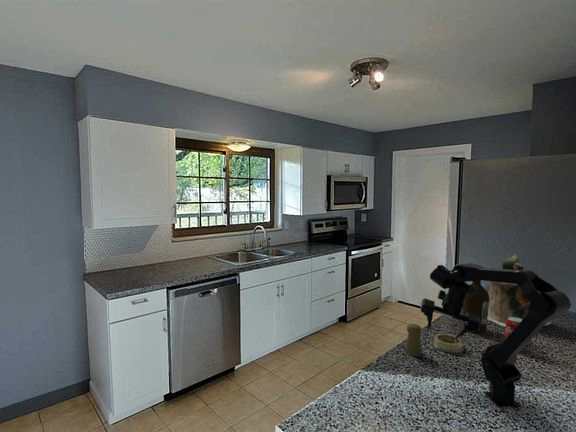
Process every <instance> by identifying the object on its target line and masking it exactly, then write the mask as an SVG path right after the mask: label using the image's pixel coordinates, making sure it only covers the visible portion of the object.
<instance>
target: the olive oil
mask: <svg viewBox="0 0 576 432" xmlns="http://www.w3.org/2000/svg"><path fill="white" fill-rule="evenodd" d="M481 282H482V280H478V281H471V284H473V287H474V288H475V290H476V292H475V293H469V294H467V297H466V299H465V302H464V305H463V308H462V315H466V313H467V312H468V313H471V314H474V315H477V316H478V317H479V319H480V324H481V325H480V329H479V331H476V330H474V331H469V332H468V333H471V334H475V335H476V334H477V335H483V334H486V333H487V327H488V326H487V325H488V320H487V319H488V309H489V301H490V298H489V294H488V293H489V291H487V290H486V288H484V287H483V286H482V283H481Z"/></svg>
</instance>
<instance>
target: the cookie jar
mask: <svg viewBox="0 0 576 432" xmlns="http://www.w3.org/2000/svg"><path fill="white" fill-rule="evenodd" d="M518 261H519V257H518V256H517V255H516V254H513V255H512V256H511V257H508V258H507V257H506V258H504V259H503V261H502V265H501V266H502V267H501V269H510V270H524V266H523V265H522V264H520V263H519V262H518ZM488 294H489V298H490V301H489V309H488V319H487V322H490V321H491V322H490V323H492V322H493V323H492V324H494V325H495V324H496V325H498V326H500V327H503V328H505V327H506V320H507V319H508V317H516V318H520V319H522V320H523V319H524V317H525V316H526V315H527V313H528V306H529V304H530V302H529V301H528V300H527V299H526V298H525V296H524V294H523V292H522V291H521V289H520V287H519V286H518V285H517V284H511V283H502V282H492V281H490V284H489V290H488ZM551 323H552V320H551V321H549V322H548V323H546V324H545V325H544V326H543V327H545V326H550V324H551Z"/></svg>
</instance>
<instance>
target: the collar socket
mask: <svg viewBox="0 0 576 432" xmlns="http://www.w3.org/2000/svg"><path fill="white" fill-rule="evenodd" d="M455 336H456V335H453V334H449V333H437V334H435V335H434V340H433V341H432V345H433V347H434V348H436V350H438V351H440V352H443V353H446V354H456V355H457V354H462V353H463V352H464V346H463V339H462V338H461V337H459V338H457V339H456V338H455Z"/></svg>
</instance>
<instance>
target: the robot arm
mask: <svg viewBox="0 0 576 432" xmlns="http://www.w3.org/2000/svg"><path fill="white" fill-rule="evenodd" d="M453 266H454V267H453V268H452V269H451V270H450V269H448V268H447V267H446V266H445V265H443V264H439V265H437V266H436V268H434V269H433V270H432V271H431V272H430V275H429V280H431V281H433V283H435V285H438V286H439V287H440V288H442V289H444V290H445V291H444V290H441V289H439V292H438V295H437V298H438V299H439V300H442V301H441V306H442V307H440V306H438V305H435V301H434V300H432V299H428V298H422V300H421V303H420V312H421V313H422V314H423V315H424V316H426V319H427V329H428V330H430V329H431V327H432V326H431V325H432V321H433V317H434V312H435V313H439V314H441V315H444V316H447V317H450V318H453V319H457V320H460V321H461V324H460V326H459V327H458V329H457V332H456V334H455V335H454V336H455V338H456V339H457V338H461V337H462V336H464V335H465V334H466V333H470V332H469V331H474V330H476V331H479V329H480V325H481V324H480V319H479V317H478V316H477V315H474V314H471V313H468V312H467V313H466V315H463V313H461V312H462V311H463V305H464V302H465V299H466V297H467V294H469V293H475V292H476V290H475V288H474V287H473V284H472V283H471V284H469V283H468V282H472V281H478V280H481V281H485V282H491V281H492V282H502V283H511V284H517V285H518V286H519V287H520V289H521V291H522V292H523V294H524V296H525V298H526V299H527V300H528V301H529V302H530V304H529V306H528V313H527V315H526V316H525V317H524V319H523V320H522V321H521V322H520V323H519V324H518V325H517V327H516V328H515V329H514V330H513V331H512V332H511V333H510V335H509V336H508V337H507V338H506V339H505V338H504V340H503V341H502V342H499V343H496V344H492V345H488V346H487V347H486V349H485V350H484V352H482V353H481V354H480V355H481V357H480V362H481V365H482V369H483V373H484V376H485V380H487V381H488V382H489V391H485V392H484V395H486V397H487V398H489V400H491V401H492V402H493V403H494V404H495V405H496V406H497V407H499V408H501V407H506V408H507V407H520V403H519V402H518V401H516V399H515V397H516V384H515V383H516V382H519V381H521V379H522V377H523V376H522V374H521V372H520V370H519V369H518V368H517V366H516V363H517V357H518V356H517V355H518V354H519V353H520V352H521V351H523V350H524V349H523V348H525V346H526V345H527V344H529V343H530V341H531V340H532V339H533V338H534V337H535V336H536V335H537V334H538V333H539V331H541V329H543V327H545V326H544V325H545V324H546V323H548V322H549V321H551V322H552V321H553V320H555V319H557V318H558V317H560V316H562V315H563V314H565V313H566V312H568V311H569V310H570V309H571V306H572V303H571V300H570V298H569V297H568V296H567V294H566V293H565V292H562V291H560V290H559V289H558V288H556V287H555V286H554V285H553V284H552V283H550V282H548V281H546V280H545V279H542V278H541V277H540V276H539V275H538V274H536V273H535V272H534V271H533V270H531V269H523V270H510V269H502V268H495V267H492V268H491V267H484V266H482V265H480V264H476V263H473V262H469V263H459V264H455V265H453ZM447 289H448V291H447V293H446V290H447Z"/></svg>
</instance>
